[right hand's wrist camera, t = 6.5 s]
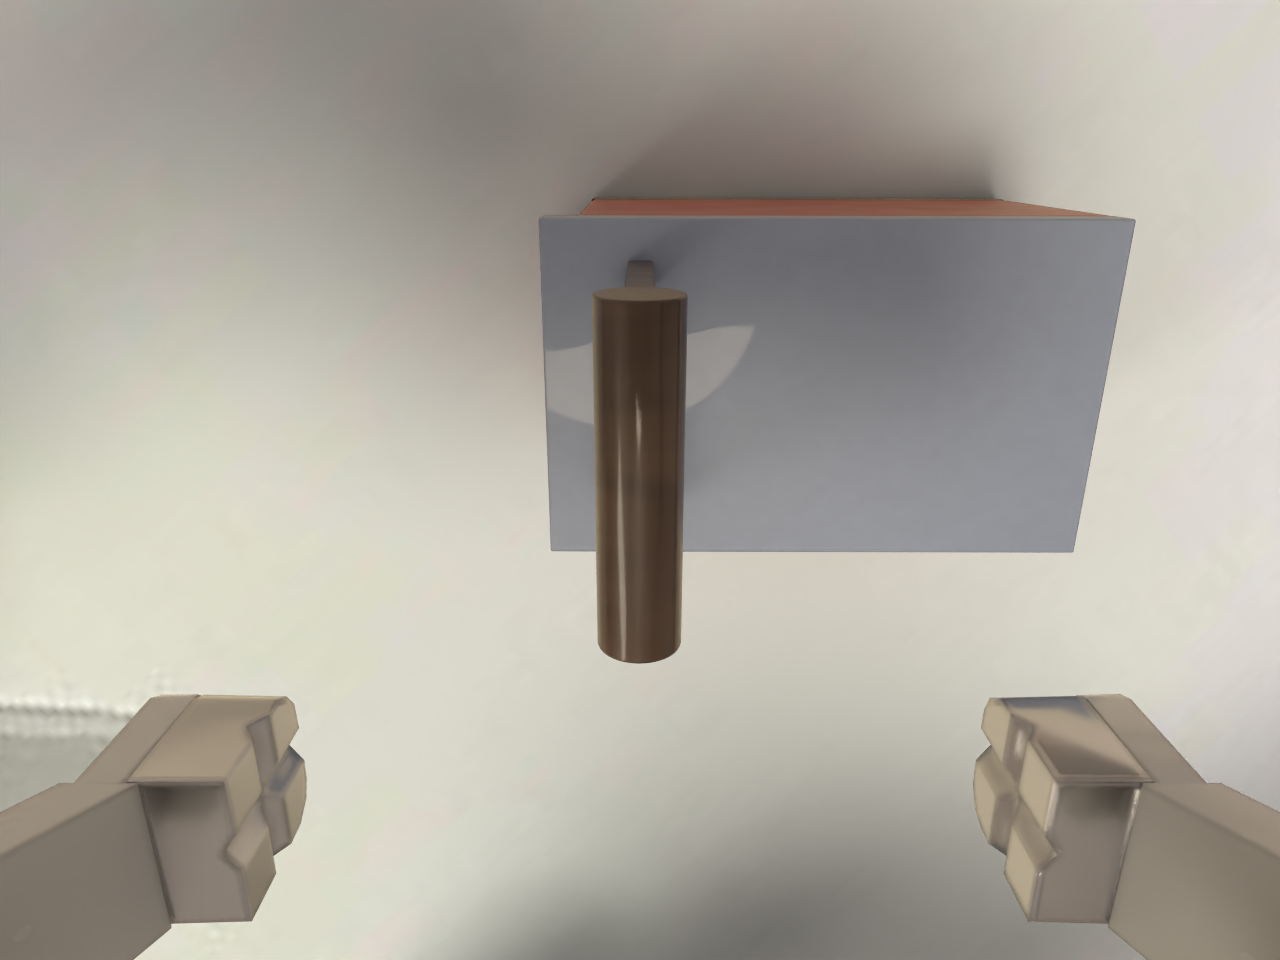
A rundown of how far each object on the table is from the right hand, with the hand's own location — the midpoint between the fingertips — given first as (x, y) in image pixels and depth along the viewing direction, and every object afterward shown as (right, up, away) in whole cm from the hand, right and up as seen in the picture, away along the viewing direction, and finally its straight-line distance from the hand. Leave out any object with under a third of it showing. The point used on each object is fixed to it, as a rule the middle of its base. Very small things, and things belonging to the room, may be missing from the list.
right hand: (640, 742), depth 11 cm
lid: (+5, +6, +16) cm, 18 cm away
